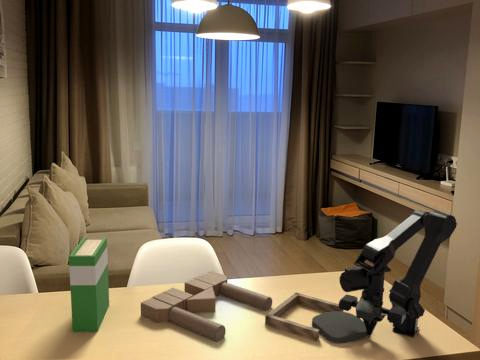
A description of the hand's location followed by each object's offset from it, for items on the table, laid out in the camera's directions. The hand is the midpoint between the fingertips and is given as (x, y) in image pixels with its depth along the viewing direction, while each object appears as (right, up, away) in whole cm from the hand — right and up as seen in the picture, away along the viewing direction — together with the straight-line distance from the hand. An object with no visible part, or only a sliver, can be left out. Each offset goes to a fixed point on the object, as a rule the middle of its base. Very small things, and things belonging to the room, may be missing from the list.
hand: (369, 335), depth 150 cm
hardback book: (-86, +2, +10) cm, 86 cm away
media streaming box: (-8, 0, +5) cm, 10 cm away
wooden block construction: (-49, +2, +17) cm, 52 cm away
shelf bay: (-17, +2, +11) cm, 21 cm away
